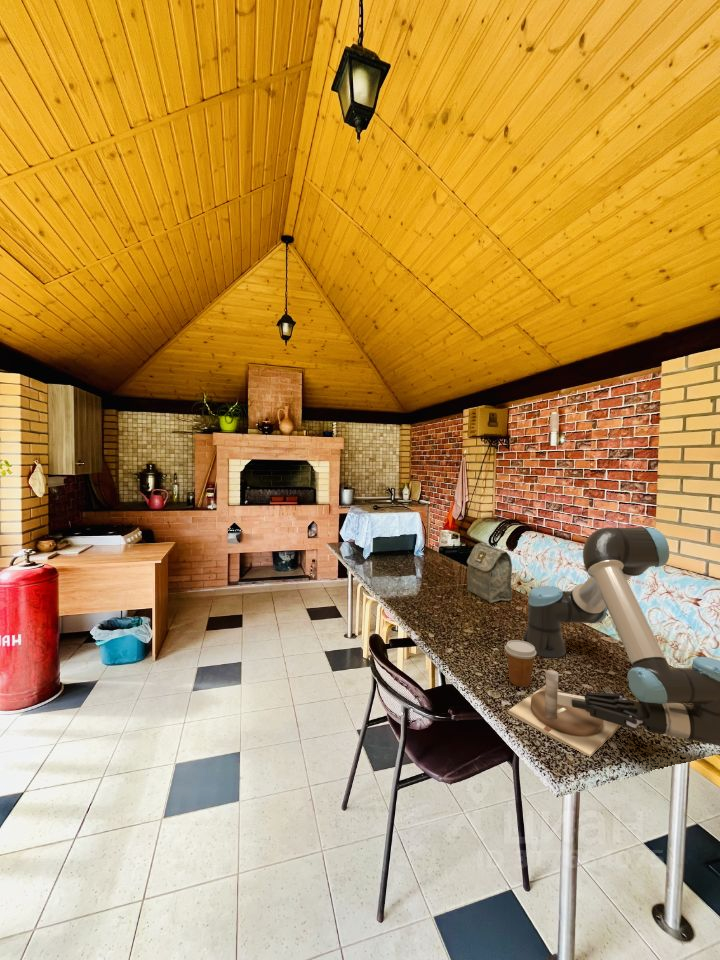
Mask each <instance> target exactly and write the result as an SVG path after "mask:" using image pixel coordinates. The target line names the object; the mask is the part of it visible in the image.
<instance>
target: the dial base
mask: <svg viewBox="0 0 720 960" xmlns="http://www.w3.org/2000/svg"><path fill="white" fill-rule="evenodd" d="M544 690H546V684H545V685H542V687H540V688H539V689H538V690H535V691H534V692H533V693H532V694H529V696H527V697H525V698H524V699H522V700H521V701H520V702H518V703H517V704H515V705H514V706H512V707H510V708H508V709H507V710H508V712H507V713H508V715H510V716H512V717H514V718H515V719H517V720H520V721H521V722H522V723H524V724H527V725H529V726H530V727H532V728H534V729H536V730H537V731H539V732H541V733H542V734H545V735H546V736H548V737H550V738H551V739H553V740H556V741H557V742H559V743H561V744H562V743H563V744H562V745H564V744H565V745H564V746H566V745H568V746H570V747H571V748H573V749H575V750H577V751H579V752H581V753H583V754H585V755H587V756H589V757H591V756H592V755H593V754H594V753H595V752H596V751H597V750H598V749H599V748H600V747H601V746H602V745H603V744H604V743H605V742H606V741H607V740H608V741H609V740H610V739H611V738H612V737H613V736H614V735H615V734H616V732H617V731H618V730H619V729H620V728H621V727H622V726H621V725H618V724H615V723H612V722H608V721H605V720H603V727H602V729H601V730H600V731H599V732H598V733H596V734H592V735H573V734H568V733H564V732H561V731H558V730H556V729H554V728H552V727H550V726H548V725H546V724H545V723H543V722H542V721H540V720H539V719H538V718H537V717H536V716H535V714H534V713H533V711H532V709H531V698H532V696H533V695H534V694H535V693H537V692H540V691H544ZM558 691H562V690H561V689H559V688H558ZM608 741H607V742H608ZM607 742H606V743H607ZM606 743H605V744H606ZM605 744H604V745H605ZM604 745H603V746H604ZM568 746H567V747H568ZM603 746H602V747H603ZM570 747H569V748H570ZM602 747H601V748H602ZM571 748H570V749H571ZM601 748H600V749H601ZM573 749H572V750H573ZM600 749H599V750H600ZM575 750H574V751H575ZM599 750H598V751H599ZM577 751H576V752H577ZM598 751H597V752H598ZM579 752H578V753H579ZM597 752H596V753H597ZM596 753H595V754H596ZM595 754H594V755H595ZM594 755H593V756H594ZM593 756H592V757H593ZM592 757H591V758H592Z"/></svg>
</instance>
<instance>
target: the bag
mask: <svg viewBox="0 0 720 960" xmlns="http://www.w3.org/2000/svg"><path fill="white" fill-rule="evenodd" d="M466 564H467V570H466V572H467V574H466V576H467V578H466V579H467V580H466V582H467V589H466V590H467V591H468V592H471V593H473V594H474V595H476V596H478V597H480V598H481V599H483V600H485V601H487V602H489V603H490V604H493V603H496V602H499V601H511V600H512V597H513V596H512V595H513V594H512V575H513V574H512V573H513V564H512V558H511V556H510V554H509V553H508V551H505V550H502V549H500V548H497V547H495V546H491V545H488V544H486V542H484V541H483V542H479V543H477V544H475V545H474V547H473V548H472V550H471V551H470V555H469V556H468V558H467V560H466Z"/></svg>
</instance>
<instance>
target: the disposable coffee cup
mask: <svg viewBox="0 0 720 960" xmlns="http://www.w3.org/2000/svg"><path fill="white" fill-rule="evenodd" d="M504 650H505V652H506V658H507V668H508V678H509V681H510V683H511V684H513V685H514V686H517V687H520V688H525V687H526V688H527V687H529V686H530V685H531V679H532V674H533V669H534V663H535V657H536V656H537V655H536V650H535V647H534V646H533V645H532V644H530V643H528V642H525V641H523V640H519V639H515V640H514V639H513V640H508V641H507V642H506V644H505V646H504Z"/></svg>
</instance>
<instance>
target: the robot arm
mask: <svg viewBox="0 0 720 960" xmlns="http://www.w3.org/2000/svg"><path fill="white" fill-rule="evenodd" d="M669 559H670V546H669V543H668V540H667V538H666V537H665V536H664V533H662V531H660V530H659V529H656V528H653V527H645V526H643V527H609V526H608V527H602V528H599V529H597V530H595V531H593V532H592V533H591V534H590V535H589V536H588V537H587V539H586V540H585V542H584V545H583V548H582V560H583V565H584V568H585V570H586V572H587V574H588V576H589V577H588V578H587V580H585V582H584V583H579V584H577V585H575V586H574V587H573V588H572V589H571V590H562V589H561V588H560V587H557V586H552V585H550V586H549V585H540V586H534V587H533V588H532V589H530V590H529V592H528V600H527V602H528V604H527V605H528V607H527V608H528V610H527V612H528V613H527V614H528V615H527V627H526V630H525V632H524V635H523V637H522V641H525V642H528V643H530V644H532V645H533V646H534V647H535V650H536V655H535V656H540V657H542V658H550V659H551V658H554V659H555V658H560V657H563V656H565V655H566V651H567V650H566V649H567V647H566V642H565V639H564V637H563V634H562V624H567V623H568V624H597V623H598V624H599V623H601V622H602V621H604V620H605V619H606V617H607V615H608V613H609V615H610V619H611V620H612V623H613V624H614V626H615V630H616V631H617V634H618V636H619V638H620V641H621V643H622V644H623V647H624V650H625V652H626V653H627V656H628V658H629V661H630V664H631V666H632V667H631V669H629V671H628V672H627V680H628V687H629V689H630V691H631V693H632V695H633V696H634V697H635V698H636V699H637V700H639V701H636V700H632V699H627V698H626V697H625V694H624V693H622V692H618V693H614V694H613V693H612V694H611V693H610V692H609V693H610V694H609V693H608V692H607V693H606V692H592V691H591V692H588V691H587V692H585V694H584V695H577V694H574V695H572V694H573V693H571V694H567V693H561V692H557V704H559V705H564V706H570V707H575V708H580V709H585V710H586V711H587V712H590V716H592V717H596V718H599V719H602V720H605V721H608V722H612V723H615V724H618V725H621V727H624V728H627V729H630V730H631V731H634V732H637V729H638V728H637V727H638V726H641V727H643V728H644V729H645V731H647V732H649V733H652V734H653V733H654V734H659V735H664V734H665V735H667V736H671V737H674V738H677V739H679V738H680V739H685V740H688V741H689V740H691V741H694V742H700V743H704V744H709V745H713V746H718V747H720V659H719V660H718V659H715V658H713V657H707V656H698V657H695V658H693V660H692V664H691V667H671V666H670V664H669V662H668V661H667V659H666V656H665V654H664V652H663V651H662V649H661V646H660V644H659V642H658V641H657V638H656V637H655V634H654V632H653V630H652V629H651V627H650V624H649V623H648V620H647V618H646V616H645V614H644V612H643V609H642V608H641V606H640V604H639V602H638V599H637V598H636V596H635V594H634V592H633V590H632V588H631V586H630V584H629V581H628V580H629V579H631V577H638V576H641V575H642V574H644V572H646V571H647V570H648V569H649V568H651V567H655V568H659V567H663V566H665V565H666V564H667V563H668V561H669Z"/></svg>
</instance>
